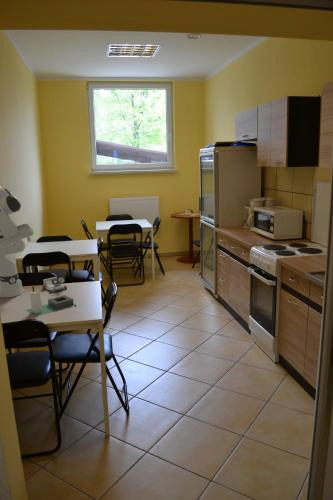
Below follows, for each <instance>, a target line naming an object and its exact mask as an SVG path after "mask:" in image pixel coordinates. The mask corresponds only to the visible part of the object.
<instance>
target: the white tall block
mask: <svg viewBox="0 0 333 500" xmlns="http://www.w3.org/2000/svg"><path fill="white" fill-rule="evenodd" d="M31 289H32V291H29V297H30V307H31V308H32V312H34V313H38V312H42V299H41V292H40V291H38V290H35V286H34V285H32V286H31Z"/></svg>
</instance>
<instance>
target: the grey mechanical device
mask: <svg viewBox="0 0 333 500" xmlns="http://www.w3.org/2000/svg"><path fill="white" fill-rule="evenodd" d="M42 281H43V285H42V289H43V290H45V289H46V290H48V291H49V293H50V294H53V292H57V291H61V290H68V287H67V286H66V285H64V286H63V285H62V283H64V282H65V279H64V277H58V276H54V277H50V278H45V279H42Z"/></svg>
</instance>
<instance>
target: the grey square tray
mask: <svg viewBox="0 0 333 500" xmlns="http://www.w3.org/2000/svg"><path fill="white" fill-rule="evenodd" d="M47 304H48V305H50V306H51V307H53V308H55V309H60V308H63V307H67V306H70V305H74V304H75V303H74V299H73V297H72V298H71V297H70V296H68V295H66V294H64V295H60V296H57V297H56V296H55V297H52V298H48V299H47ZM67 308H68V307H67Z"/></svg>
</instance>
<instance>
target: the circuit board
mask: <svg viewBox="0 0 333 500" xmlns="http://www.w3.org/2000/svg"><path fill="white" fill-rule="evenodd" d="M41 306H42V312H38V313H34V312H32V307H31V308H29V309H26V310H25V311H27V312H28V313H30V315H32V316H34V317H40V316H43V315H46V314H49V313H50V314H51V313H54V312H56V311H60V310H64V309H67V308H70V307H75V308H76V307H77V304H76V303H74V305H70V306H67V307H63V308H60V309H55V308H53V307H51V306H50V305H48V303H47V304H41Z"/></svg>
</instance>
